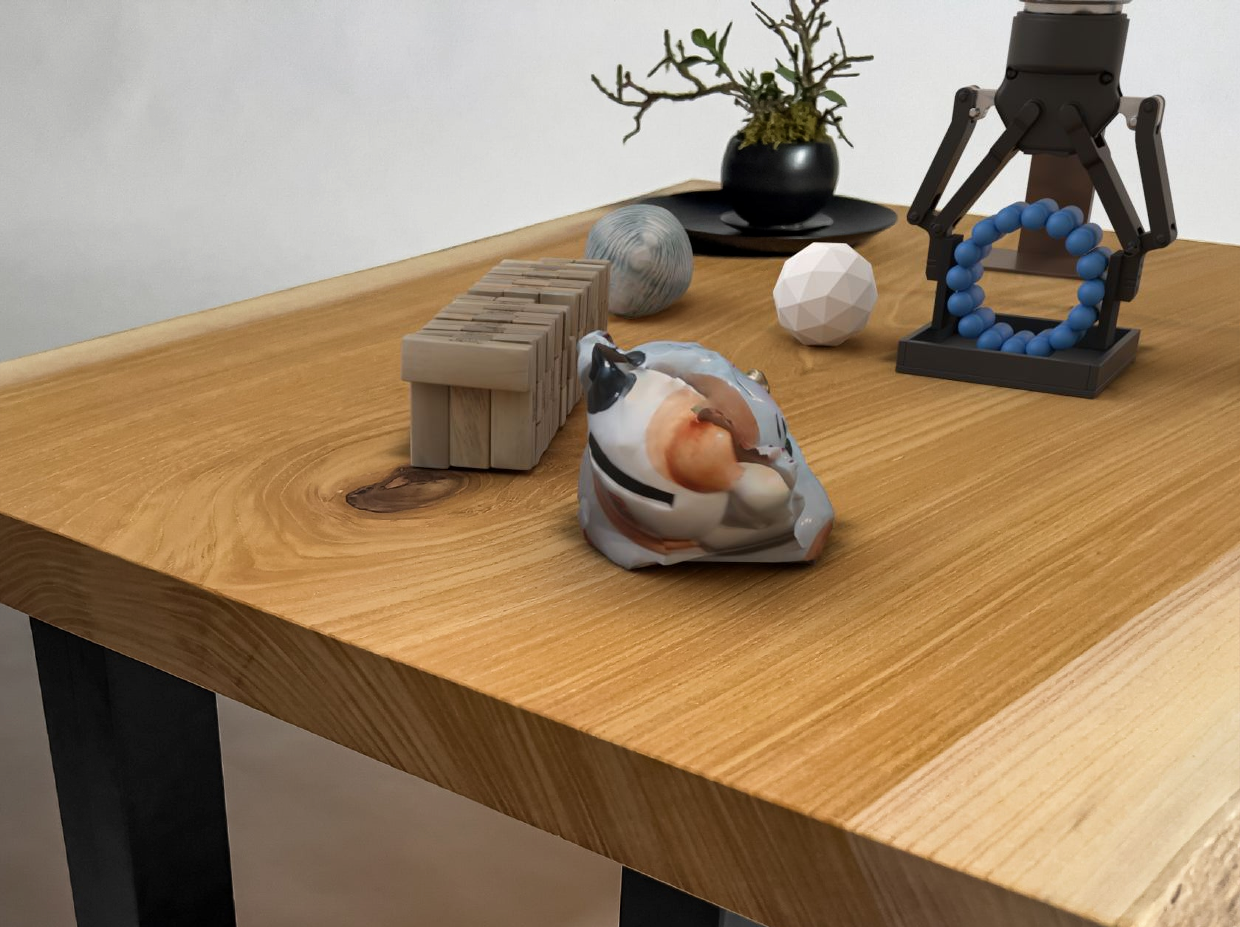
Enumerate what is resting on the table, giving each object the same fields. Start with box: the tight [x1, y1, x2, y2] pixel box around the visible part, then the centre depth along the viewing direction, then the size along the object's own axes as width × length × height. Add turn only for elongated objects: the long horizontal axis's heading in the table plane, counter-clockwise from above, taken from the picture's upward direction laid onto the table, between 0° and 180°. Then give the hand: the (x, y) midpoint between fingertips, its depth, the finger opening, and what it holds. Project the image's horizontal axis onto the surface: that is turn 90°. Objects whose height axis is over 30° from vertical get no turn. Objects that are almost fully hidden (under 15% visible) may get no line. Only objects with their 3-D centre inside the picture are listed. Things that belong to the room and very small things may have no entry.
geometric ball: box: [772, 242, 879, 347], centre depth 123 cm, size 8×8×8 cm
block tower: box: [400, 256, 611, 471], centre depth 105 cm, size 8×8×29 cm
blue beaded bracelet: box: [946, 198, 1114, 357], centre depth 116 cm, size 11×5×11 cm, turn 58°
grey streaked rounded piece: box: [584, 203, 694, 320], centre depth 135 cm, size 14×10×10 cm
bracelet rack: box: [979, 127, 1107, 281], centre depth 146 cm, size 12×12×15 cm
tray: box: [894, 311, 1142, 400], centre depth 118 cm, size 14×13×2 cm
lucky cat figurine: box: [576, 330, 835, 570], centre depth 80 cm, size 15×12×14 cm
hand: (1020, 336), depth 118 cm, fingers closed on blue beaded bracelet, 11 cm apart
